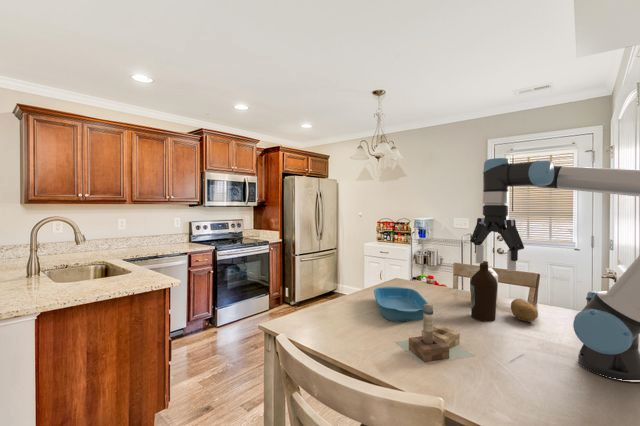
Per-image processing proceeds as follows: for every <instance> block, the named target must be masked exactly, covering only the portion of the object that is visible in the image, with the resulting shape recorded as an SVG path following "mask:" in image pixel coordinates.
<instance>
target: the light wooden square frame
mask: <svg viewBox="0 0 640 426" xmlns="http://www.w3.org/2000/svg"><path fill="white" fill-rule="evenodd" d="M421 336H423V329H421ZM433 336H435V337H436V338H438V339H439V340H441V341H442V342H444V343H445V344H447V345H448V346H449V349H451V348H453V347H455V346H457V345H459V346H460V345H461V344H460V340H461V339H460V336H461V335H460V332H458V331H455V330H452V329H449V328H447V327H444V326H440V325H438V324H436V325H433Z"/></svg>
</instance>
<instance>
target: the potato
mask: <svg viewBox="0 0 640 426" xmlns="http://www.w3.org/2000/svg"><path fill="white" fill-rule="evenodd" d="M510 310H511V313H512V315H513V316H514V317H515V318H517V319H518V320H521V321H524V322H528V323H530V322H533V321H535V320H536V319H537V318H538V317H539V313H538V309H537V308H536V307H535V306H534V304H532V303H531V302H529V301H527V300H525V299H522V298H515V299H513V300H511V304H510Z"/></svg>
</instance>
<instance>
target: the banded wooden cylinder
mask: <svg viewBox="0 0 640 426" xmlns="http://www.w3.org/2000/svg"><path fill="white" fill-rule="evenodd" d="M422 321H423V322H422V323H423V324H422V325H423V326H422V327H423V328H422V330H423V343H424V344H426V345H432V344H433V326H434V305H433V304H431V303H428V304H424V305H423V319H422Z"/></svg>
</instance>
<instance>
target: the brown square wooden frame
mask: <svg viewBox="0 0 640 426" xmlns="http://www.w3.org/2000/svg"><path fill="white" fill-rule="evenodd" d="M408 340H409V350H410V351H411V352H412V353H413V354H415V355H416V356H417V357H418V358H419V359H421V360H422V361H423V362H424V363H425V362H432V361H438V360H445V359H449V346H448V345H447V344H445V343H444V342H442V341H441V340H439V339H438V338H436V337H435V336H433V344H432V345H426V344H424V343H423V336H422V335H421V336H414V337H413V336H412V337H409V338H408ZM445 361H446V360H445ZM432 363H433V362H432Z"/></svg>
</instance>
